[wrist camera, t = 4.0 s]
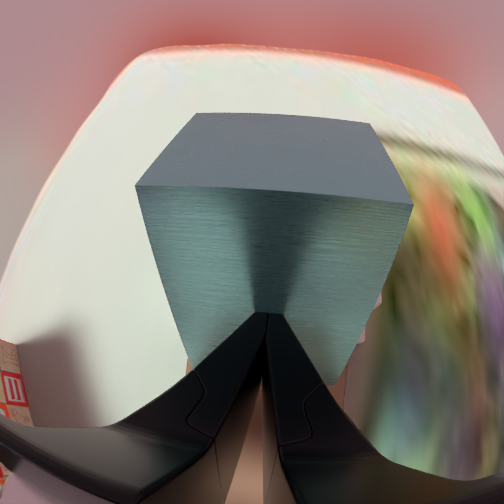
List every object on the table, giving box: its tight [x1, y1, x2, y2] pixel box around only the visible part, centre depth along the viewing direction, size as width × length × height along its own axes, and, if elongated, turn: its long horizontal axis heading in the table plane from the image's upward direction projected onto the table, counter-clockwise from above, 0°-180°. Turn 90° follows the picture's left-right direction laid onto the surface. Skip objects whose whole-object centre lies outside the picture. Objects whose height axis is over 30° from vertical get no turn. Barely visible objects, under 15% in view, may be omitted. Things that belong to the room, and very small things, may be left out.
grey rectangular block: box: [135, 113, 414, 386], centre depth 11 cm, size 5×6×9 cm
